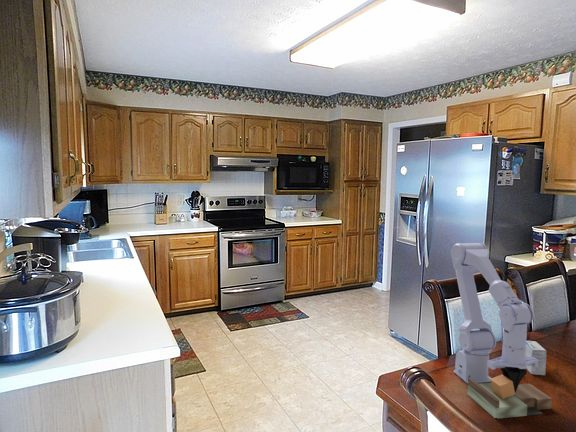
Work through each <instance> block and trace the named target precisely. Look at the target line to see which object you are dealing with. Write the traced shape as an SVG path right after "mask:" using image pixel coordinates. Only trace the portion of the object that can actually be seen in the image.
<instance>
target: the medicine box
mask: <svg viewBox="0 0 576 432" xmlns="http://www.w3.org/2000/svg"><path fill="white" fill-rule="evenodd" d="M525 357H534V358H535V359H537V360H538V366H537V367H535V366H526V370H527V372H529V373H530V374H531V375H536V376H546V365H547V350H546V349H545V348H544V347H543V346H541V345H540V344H539V343H538V342H537V341H533V340H526V353H525Z"/></svg>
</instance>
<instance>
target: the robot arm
mask: <svg viewBox="0 0 576 432" xmlns="http://www.w3.org/2000/svg"><path fill="white" fill-rule="evenodd" d="M450 256H451V261H452V266H453V269H454V271H455V276H456V279H457V280H456V281H457V285H458V286H457V287H458V290H459V295H460V301H461V306H462V307H461V308H462V310H463V316H464V322H463V323H462V324H461V325H460V326H459V327H458V331H459V336H458V338H459V339H458V341H459V344H460V346H461V348H462V350H459V351H457V352H456V354H455V361H454V362H455V364H454V370H453V373H454V374H456V375H457V376H458V377H459V378H460V379H461V380H463V381H464V382H465V383H466V384H468V378H472V379H473V380H475V381H476V382H477V383H478V384H481V383H491V381H490V379H491V378H492V377H490V376H489V369H491V370H492V371H493V370H496V369H500V371H501V374H502V375H504V376H505V377H507V378H508V379H510V380H511V381H513V386H514V391H515V393H516V390H517V388H518V385H519V384H520V383H521V381H522V380H523V378H524V377H526V375H527V373H528V370H527V369H526V366H535V367H537V366H538V360H537V359H535V358H534V357H525V353H526V341H527V335H528V334H527V333H528V324H531V323H532V322H533V319H534V313H533V310H532V308H531V306H530V304H528V303H526V302H524V301H523V300H521V299H519V298H518V295H517V294H516V293H515V292H514V290H513V289H512V287H511V285H510V284H509V283H508V282H507V281H504V280H502V279H501V277H500V276H499V274H498V272H497V270H496V269H495V267H494V265H493V264H492V261H491V260H490V251H489V249H488V248H487V245H486V244H484V243H483V242H476V243H475V242H471V243H469V242H466V243H460V242H457V243H455V244H453V246H452V249H451V251H450ZM475 270H478V271H479V273H480V274H481V275H482V277H483V278H484V279H485V281H486V282H487V283H488V285H489V288H488V292H489V293H490V296H491V297H492V298H493V300H494V302H495V304H496V305H497V306H498V308H499V309H500V310H499V311H498V315H499V319H500V320H501V327H502V329H503V330H502V345H501V355H500V356H498V357H496V358H492V359H490V353H492V350H494V349H495V348H496V345H497V337H496V335H495V334H494V332H493V328H492V326H491V325H490V324H489V323H488V322H487V321H485V320H484V319H483V314H482V309H481V305H480V304H481V303H480V299H479V295H478V291H477V285H476V282H475V275H474V272H475Z"/></svg>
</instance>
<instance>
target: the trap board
mask: <svg viewBox="0 0 576 432" xmlns="http://www.w3.org/2000/svg"><path fill="white" fill-rule="evenodd" d="M467 395H468V396H469V397H470V398H471V399H472V400H473V401H475V403H477V404H478V405H479V406H480V407H481V408H483V409H484V411H486V412H487V413H488V414H489V415H491V416H492V418H494V419H495V418H497V419H505V418H517V417H525V416H526V417H527V416H537V415H544V413H543V412H542V411H541V410H551V409H552V403H553V398H552V397H550V396H549V395H547V394H546V393H545V392H543V391H542V390H540V389H538V388H537V387H536V386H534V385H532V384H531V383H521V384H520V383H519V385H518V388H517V390H516V393H515V394H514V395H512V396H509V397H507V398H504V399H502V398H501V397H499V396H498V395H497V394H496V393H494V392H493V390H492V386H491V382H485V383H477V382H476V381H475V380H473V379H472V378H468V383H467Z"/></svg>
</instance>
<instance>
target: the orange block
mask: <svg viewBox="0 0 576 432" xmlns="http://www.w3.org/2000/svg"><path fill="white" fill-rule="evenodd" d="M490 381H491V382H490V383H491V386H492V390H493V392H494V393H496V394H497V395H498V396H499V397H501V398H502V399H504V398H507V397H509V396H512V395H514V394H515V391H514V386H513V381H511V380H510V379H508V378H507V377H505V376H504V375H503V373H501V374H499V375H496V376H494V377H491V379H490Z"/></svg>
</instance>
